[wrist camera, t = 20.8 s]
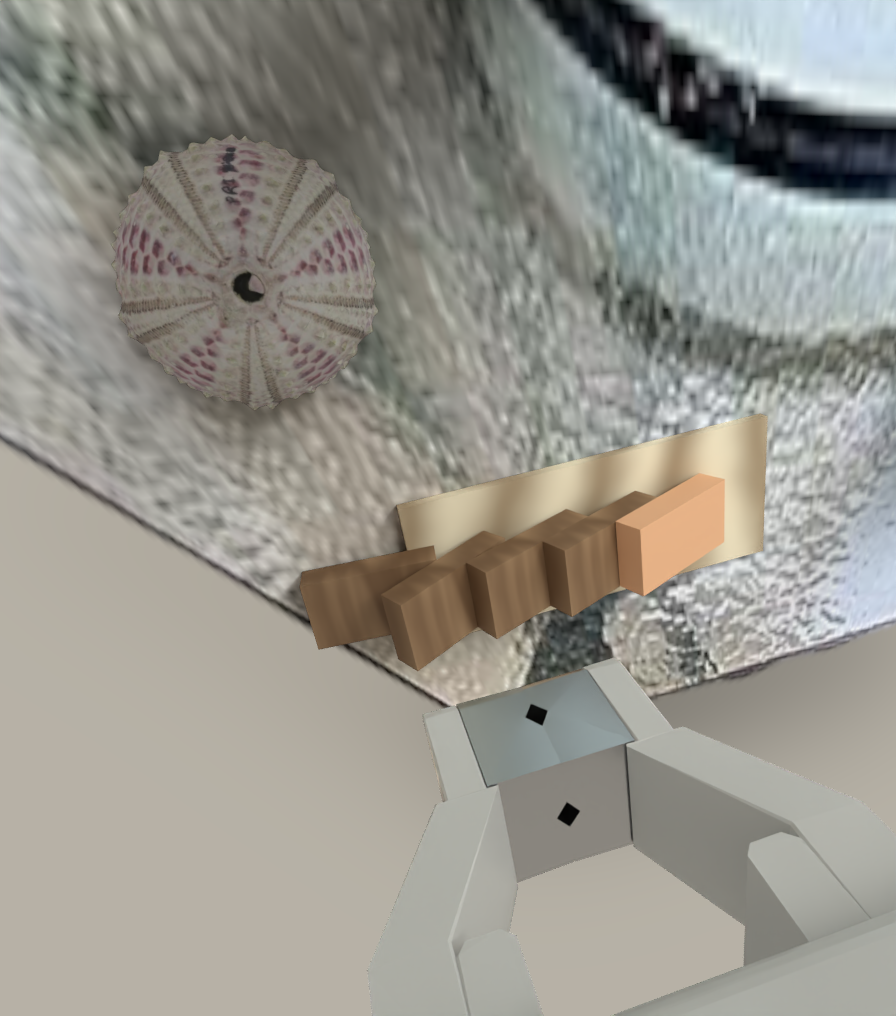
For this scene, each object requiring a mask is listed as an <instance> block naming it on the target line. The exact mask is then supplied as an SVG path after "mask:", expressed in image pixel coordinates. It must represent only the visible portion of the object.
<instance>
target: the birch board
mask: <svg viewBox="0 0 896 1016" xmlns="http://www.w3.org/2000/svg"><path fill="white" fill-rule="evenodd" d="M766 444H767V416H765V415H762V414H757V415H753V416H749V417H745V418H741V419H737V420H733V421H729V422H725V423H721V424H717V425H713V426H709V427H705V428H701V429H697V430H693V431H689V432H685V433H681V434H677V435H673V436H669V437H665V438H661V439H657V440H653V441H649V442H645V443H641V444H638V445H634V446H630V447H626V448H622V449H618V450H614V451H610V452H606V453H602V454H598V455H594V456H590V457H586V458H582V459H578V460H574V461H570V462H566V463H562V464H558V465H554V466H550V467H546V468H542V469H538V470H534V471H530V472H526V473H522V474H518V475H514V476H510V477H506V478H502V479H498V480H494V481H490V482H486V483H482V484H478V485H475V486H471V487H467V488H463V489H459V490H455V491H451V492H447V493H443V494H439V495H435V496H431V497H427V498H423V499H419V500H415V501H411V502H407V503H403V504H399V505H396V506H397V511H398V515H399V519H400V524H401V528H402V533H403V537H404V542H405V546H406V550H407V551H408V550H413V549H418V548H423V547H427V546H432V545H434V549H435V554H436V559H439V558H440V557H442V556H444V555H445V554H447V553H448V552H450V551H452V550H453V549H455V548H456V547H458V546H460V545H461V544H463V543H464V542H466V541H468V540H469V539H471V538H472V537H474V536H476V535H477V534H479V533H480V532H482V531H486V532H489V533H492V534H495V535H498V536H501V537H504V538H505V541H507V540H509V539H511V538H513V537H515V536H516V535H518V534H520V533H522V532H524V531H526V530H528V529H530V528H531V527H533V526H535V525H537V524H539V523H541V522H543V521H545V520H547V519H548V518H550V517H552V516H554V515H556V514H558V513H560V512H562V511H563V510H565V509H568V510H571V511H574V512H577V513H580V514H582V515H585V516H590V515H591V514H593V513H595V512H597V511H599V510H601V509H602V508H604V507H606V506H608V505H610V504H612V503H613V502H615V501H617V500H619V499H621V498H623V497H624V496H626V495H628V494H630V493H632V492H634V491H638V492H642V493H645V494H649V495H652V496H655V497H659V496H660V495H662V494H664V493H666V492H667V491H669V490H671V489H673V488H674V487H676V486H678V485H680V484H681V483H683V482H685V481H687V480H688V479H690V478H692V477H694V476H695V475H697V474H699V473H701V474H705V475H709V476H713V477H718V478H722V479H725V511H724V542H723V543H722V544H720V545H719V546H717V547H716V548H715V549H713V550H712V551H710V552H709V553H707V554H706V555H704V556H703V557H701V558H700V559H698V560H697V561H695V562H694V563H692V564H691V565H689V566H688V567H686V568H685V569H683V570H682V571H680V572H679V573H678V574H682V573H685V572H689V571H692V570H696V569H699V568H703V567H706V566H710V565H713V564H717V563H721V562H724V561H728V560H731V559H735V558H738V557H742V556H745V555H749V554H752V553H756V552H760V551H763V530H764V502H765V473H766ZM678 574H676V575H678ZM625 589H626V588H623V587H621V586H620V587H618V588H617V589H615V590H613V591H612V592H610V593H609V594H611V593H614V592H618V591H621V590H625ZM554 609H556V608H554V607H552V606H550V607H548V608H546V609H545V610H543V611H541V612H540V613H543V612H547V611H550V610H554ZM540 613H538V614H540ZM480 630H482V629H480V628H479V627H477V628H476V629H475V630H473V631H472V632H471V633H473V632H476V631H480Z"/></svg>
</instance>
